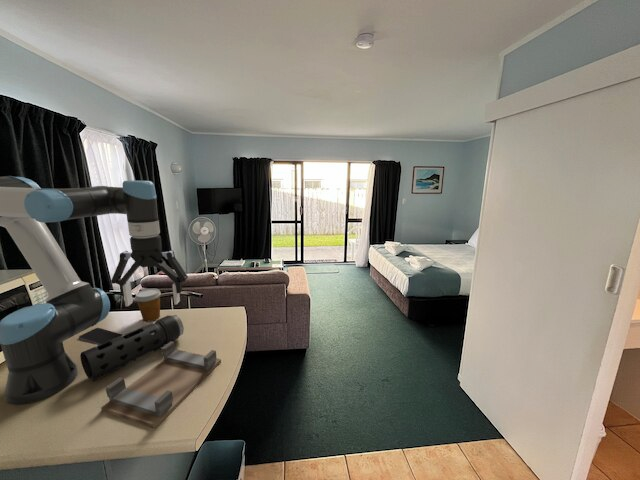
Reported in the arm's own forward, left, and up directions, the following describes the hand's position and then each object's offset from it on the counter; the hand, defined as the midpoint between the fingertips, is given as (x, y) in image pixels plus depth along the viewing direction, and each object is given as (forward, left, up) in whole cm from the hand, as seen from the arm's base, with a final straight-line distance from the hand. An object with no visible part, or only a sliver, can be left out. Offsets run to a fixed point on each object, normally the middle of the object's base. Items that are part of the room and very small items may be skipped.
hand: (153, 303), depth 84 cm
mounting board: (+7, -5, -23) cm, 24 cm away
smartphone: (-37, +7, -23) cm, 44 cm away
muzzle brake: (-12, +2, -23) cm, 26 cm away
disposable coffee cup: (-31, +24, -23) cm, 45 cm away
